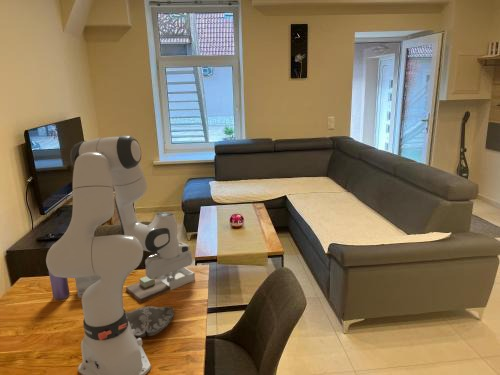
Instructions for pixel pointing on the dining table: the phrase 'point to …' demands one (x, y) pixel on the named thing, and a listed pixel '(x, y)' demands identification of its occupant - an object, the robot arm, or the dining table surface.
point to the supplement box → (85, 283)
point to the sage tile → (146, 281)
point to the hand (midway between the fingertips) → (170, 281)
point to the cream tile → (179, 275)
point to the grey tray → (180, 281)
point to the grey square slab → (148, 290)
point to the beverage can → (59, 287)
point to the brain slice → (149, 320)
